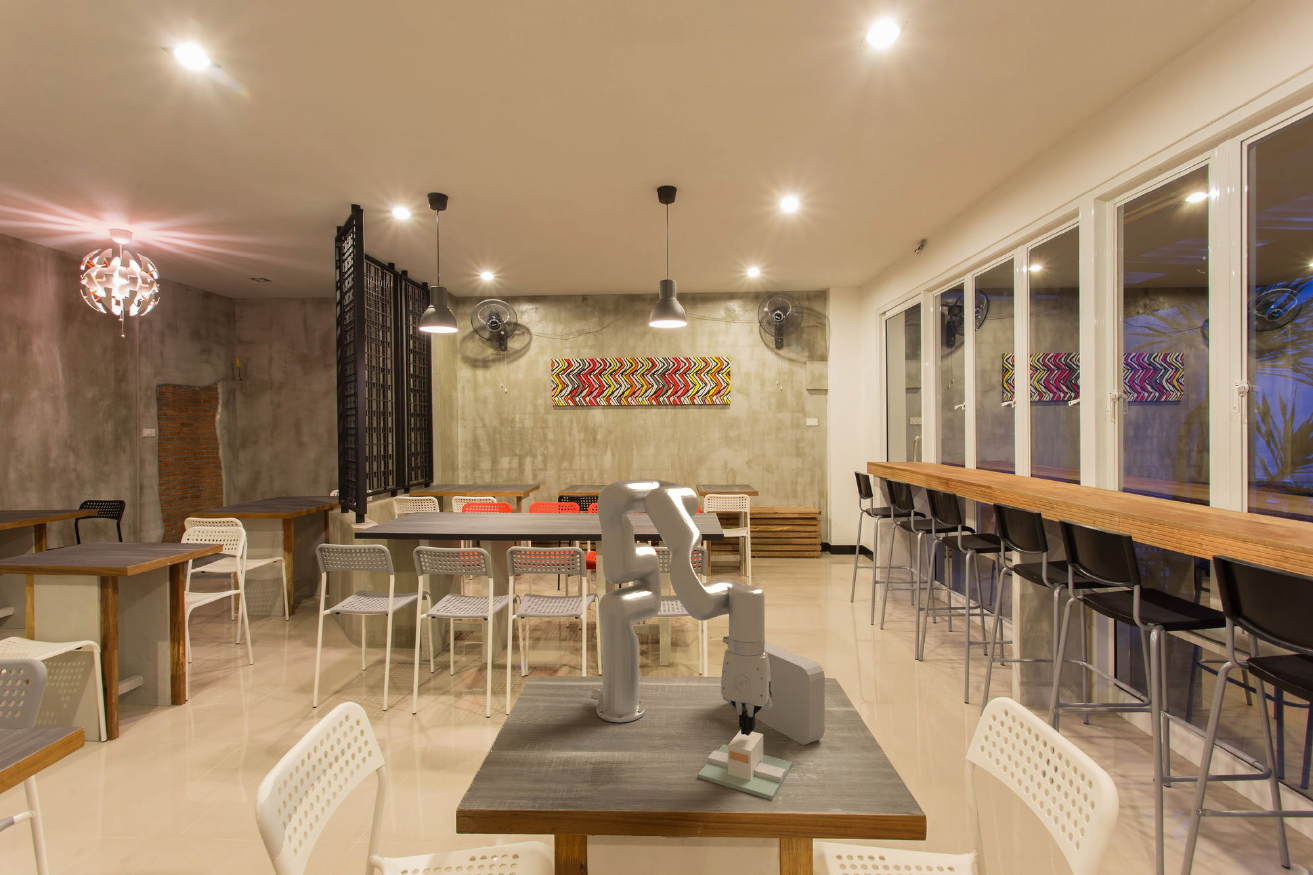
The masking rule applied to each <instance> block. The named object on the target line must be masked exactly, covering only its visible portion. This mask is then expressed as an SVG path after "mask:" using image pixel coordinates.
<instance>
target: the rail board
mask: <svg viewBox="0 0 1313 875" xmlns="http://www.w3.org/2000/svg"><path fill="white" fill-rule="evenodd" d="M728 745H729V744H724V743H723V744H722V745H721V746H720V747H719V749H718V750H713V751H712V752H711V753H710V755H709V756H708V757H707V763H706V764H705V765H704V767H702V769H701V770H700V771H699V772H698V773H697V778H698V779H700V780H703V781H707V782H710V783H715V784H716V785H717V784H718V785H720V786H724V787H726V788H731V789H735V790H737V791H742V792H745V793H747V794H751V795H754V796H758V797H762V798H765V799H766V800H767V799H769V800H771V801H773V800H774V798H775V797H776V795H777V793H778V791H779V790H780V789H781V786H782V784H783V783H784V781H785V779H786V778H787V776H788V774H789V772H790V770H791V769H792V767H793V761H790V760H786V759H782V758H778V757H773V756H769V755H766V754H763V763H760V762H759V763H758V764H757V766H756V767H755V769H754V777H753V778H752V780H751V781H750V780H747V779H743V778H740V777H736V776H733V775H729V774H728Z"/></svg>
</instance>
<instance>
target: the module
mask: <svg viewBox="0 0 1313 875" xmlns="http://www.w3.org/2000/svg"><path fill="white" fill-rule="evenodd" d="M727 745H728V774H729V775H733V776H736V777H740V778H743V779H747V780H750V781H751V780H752V778H753V777H754V769H755V767H756V766H757V764H758V763H759V762H760V763H763V755H764V734H763V733H760V732H755V731H752V732H751V733H750V735H749V736H747V735H746V734H744V735H743V734H741V729H740V730H739V731H738V732H737V734H736V735H735V736H734V737H733V738H732V740H731V741H730V742H729V744H727Z"/></svg>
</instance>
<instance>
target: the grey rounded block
mask: <svg viewBox="0 0 1313 875" xmlns="http://www.w3.org/2000/svg"><path fill="white" fill-rule="evenodd" d="M765 652H767V654H768V658H769V663H770V669H771V679H772V696H771V702H772V707H771V709H770V710H759V711H758V712H757V713H756V714H755V720H757V721H759V722H761V723H763V724H765V725H766V726H768V727H770V728H772V729H773V730H775V731H777V732H779V733H781V734H783V735H785V736H786V737H788V738H790V739H791V740H792V741H795V742H797V743H798V744H800V745H804V746H805V745H808V744H811V743H813V742H815V741H818V740H821V739H822V738H824V735H825V725H826V724H825V723H826V722H825V721H826V720H825V718H826V717H825V716H826V714H825V710H826V709H825V707H826V706H825V704H826V703H825V702H826V698H825V697H826V696H825V695H826V693H825V692H826V689H825V688H826V687H825V686H826V680H825V679H826V678H825V670H824V669H823V667H822V665H820V664H819V663H818V662H816V661H815V660H812V659H810V658H808V657H805V656H802V655H800V654H798V653H795V652H794V651H793V652H792V651H790V650H787V649H786V648H782V647H780V646H777V645H776V644H773V643H770V642H767V641H765ZM748 706H749V704H746V707H747V710H748Z"/></svg>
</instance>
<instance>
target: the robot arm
mask: <svg viewBox="0 0 1313 875" xmlns="http://www.w3.org/2000/svg"><path fill="white" fill-rule="evenodd" d="M596 505H597V506H596V508H597V515H598V519H599V520H598V521H599V524H600V530H601V533H600V534H601V549H602V550H601V554H602V571H603V575H604V578H605V580H606V581H607V582H608V583H609V584H613V585H622V584H626V583H630V582H632V583H633V585H629V586H625V587H621V588H617V589H612V590H610V591H609V592H607V593H605V594H604V595H603V596H602V597H601V598H600V601H599V603H598V615H599V619H600V620H599V621H600V626H601V635H602V641H601V642H602V689H601V688H598V687H593V688H592V690H591V695H590V698H591V700H597V702H598V704H597V706H596V708H595V710H596V711H595V712H596V715H597V716H598V717H599V718H601V719H602V720H603V721H607V722H611V723H612V722H613V723H628V722H633V721H636V720H638V719H640V718H641V717H643V716H644V715H645V713H646V705H645V703H644V702H643V701H641V699H640V640H639V637H638V635H637V633H636V632H635V630H634V626H633V625H635V624H638V623H640V622H644V621H647V620H651V619H653V618H654V617H655V616H657V615H658V614H659V612H660V611H661V606H662V586H661V585H662V584H661V583H662V582H661V563H660V559H659V556H658V553H657V551H656V549H655V548H654V547H653V546H652V545H651V544H648V543H647V542H635V530H634V529H635V528H634V526H633V524H632V522H631V520H630V518H629V517H628V516H627V515H630V514H639V513H640V514H641V513H646V514H647V516H648V517H649V519H650V521H651V522H652V524H653V527H654V528H655V529H656V531H657V533H658V534H659V536H660V538H661V539H662V541H663V543H664V545H665V546H666V549H667V550H668V552H669V554H670V555H669V556H670V558H669V566H668V568H669V579H670V583H671V586H672V589H673V591H674V593H675V594H676V596H677V598H678V600H679V602H680V604H681V605H682V607H683V609H684V610H685V611H686V612H687V613H688V614H689V616H690V617H692V618H693V619H695V620H697V621H707V620H712V619H714V618H716V617H720V616H725V615H728V635H727V636H725V635H724V636H723V638H722V642H723V643H724V644H727V649H725V650H724V655H723V661H722V666H721V679H720V695H721V696H722V700H723V701H725V702H727V703H730V704H731V705H732V707H734V709H735V710H736V714H737V715H738V726H739V728H740V730H741V734H743V735H744V734H746V735H747V736H749V735H750V733H751V732H755V729H756V718H755V714H756V713H757V712H758V711H759V710H770V709H771V707H772V702H771V696H772V679H771V669H770V663H769V658H768V654H767V652H765V642H766V640H765V639H766V638H765V637H766V636H765V633H766V632H765V630H766V629H765V621H766V620H765V618H766V617H765V615H766V614H765V610H766V609H765V592H764V590H763V589H762V588H761V587H759V586H755V585H751V584H743V583H740V582H738V581H736V580H734V579H732V578H726V577H725V578H724V577H723V578H719V579H715V580H711V581H707V582H703V583H702V582H701V581H700V579H699V577H698V576H697V574H696V572H695V570H694V568H693V565H692V560H691V559H692V553H693V552H694V551H695V550H696V549H697V548H698V547H699V545H700V544H701V542H702V541H703V539H702V538H703V535H702V533H701V531H700V529H699V527H698V526H697V524H696V523H695V522H694V520H693V517H694V516H695V515H696V514H697V512H698V510H699V505H700V504H699V498H698V496H697V494H696V492H695V491H694V490H693V489H692V488H691V487H689V486H687V485H685V484H681V483H677V482H671V481H666V480H663V479H657V478H656V479H655V478H645V479H644V478H643V479H628V480H619V481H615V482H612V483H609V484H607V485H606V486H604V488H603V489H601V491H600V493H599V495H598V499H597V504H596ZM746 704H749V706H748V710H747V707H746Z"/></svg>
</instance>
